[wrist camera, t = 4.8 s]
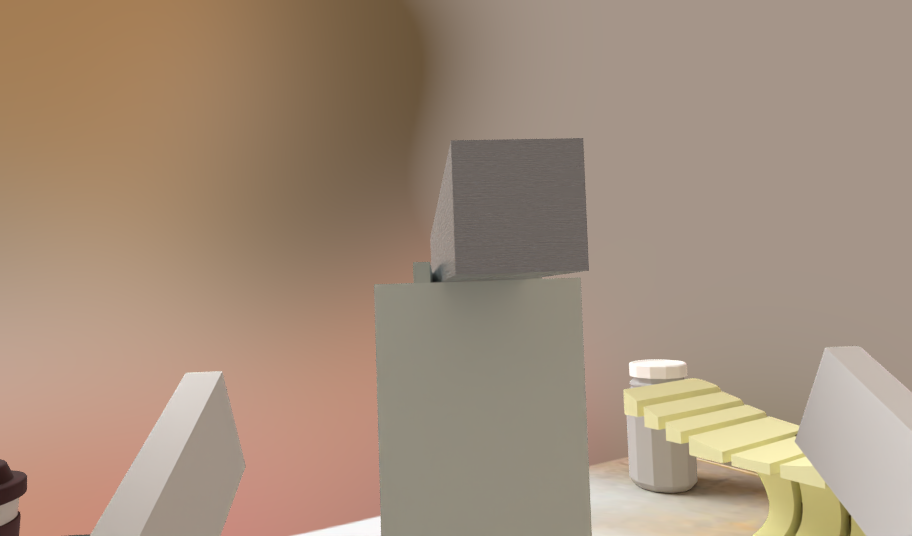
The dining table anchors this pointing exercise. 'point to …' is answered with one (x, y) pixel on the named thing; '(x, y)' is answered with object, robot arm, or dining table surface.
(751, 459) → the slatted curved stool
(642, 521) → the dining table surface
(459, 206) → the bar
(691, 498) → the dining table surface
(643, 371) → the jar
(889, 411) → the robot arm
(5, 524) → the coffee cup
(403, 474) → the stand
